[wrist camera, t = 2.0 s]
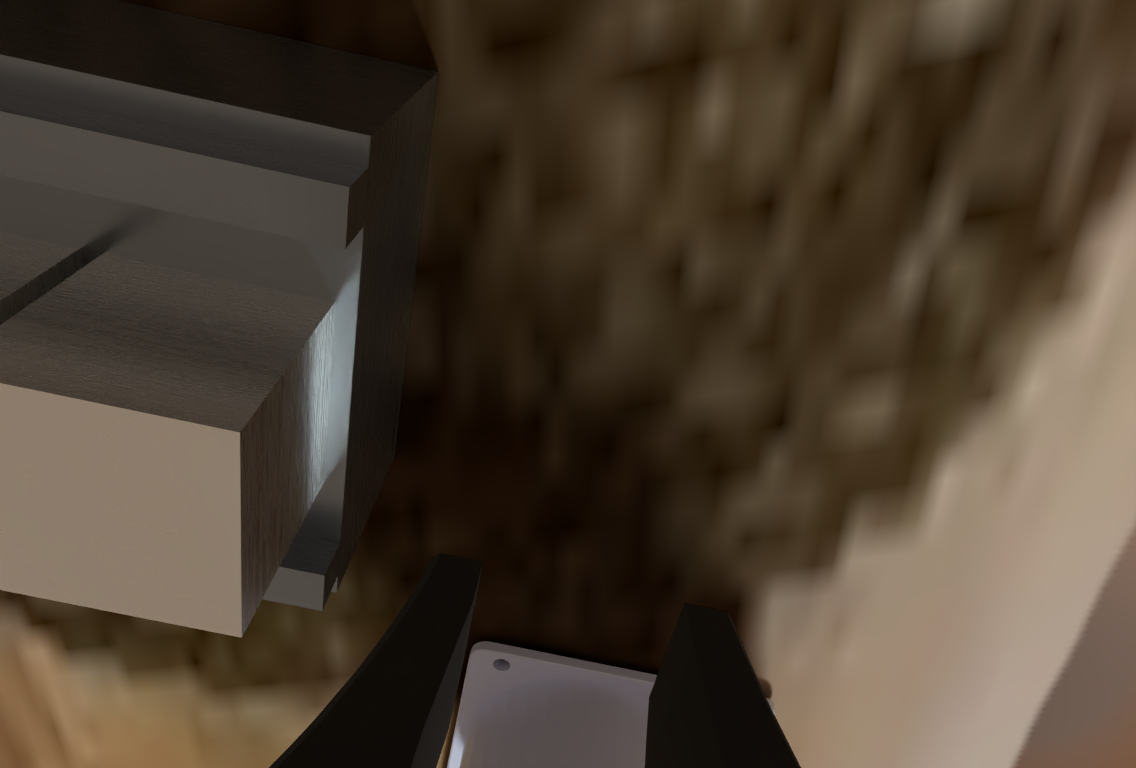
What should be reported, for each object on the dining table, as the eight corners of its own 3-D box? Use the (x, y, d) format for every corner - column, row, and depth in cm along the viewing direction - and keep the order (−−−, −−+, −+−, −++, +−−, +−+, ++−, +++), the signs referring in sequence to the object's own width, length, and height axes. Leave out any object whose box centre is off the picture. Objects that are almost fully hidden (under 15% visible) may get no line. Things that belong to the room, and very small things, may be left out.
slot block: (438, 72, 17) (350, 153, 12) (394, 456, 22) (321, 627, 17) (-2, -27, 17) (-281, 15, 12) (57, 386, 22) (-120, 540, 17)
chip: (335, 302, 15) (240, 432, 11) (324, 481, 17) (241, 638, 13) (104, 252, 14) (-65, 370, 11) (122, 439, 17) (-15, 587, 13)
